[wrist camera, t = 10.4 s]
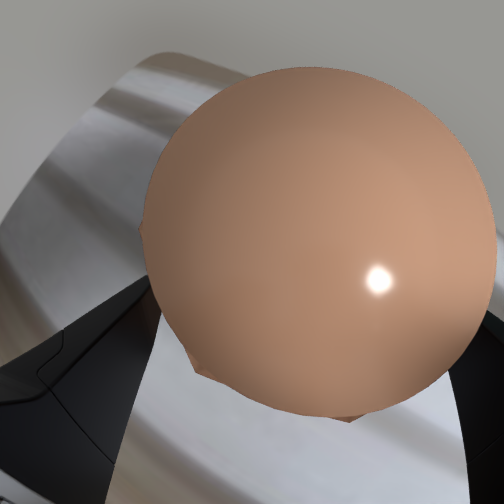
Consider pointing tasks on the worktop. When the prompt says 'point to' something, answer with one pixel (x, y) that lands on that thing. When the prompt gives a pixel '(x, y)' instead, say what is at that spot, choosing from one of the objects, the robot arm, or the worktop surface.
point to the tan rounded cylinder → (319, 242)
